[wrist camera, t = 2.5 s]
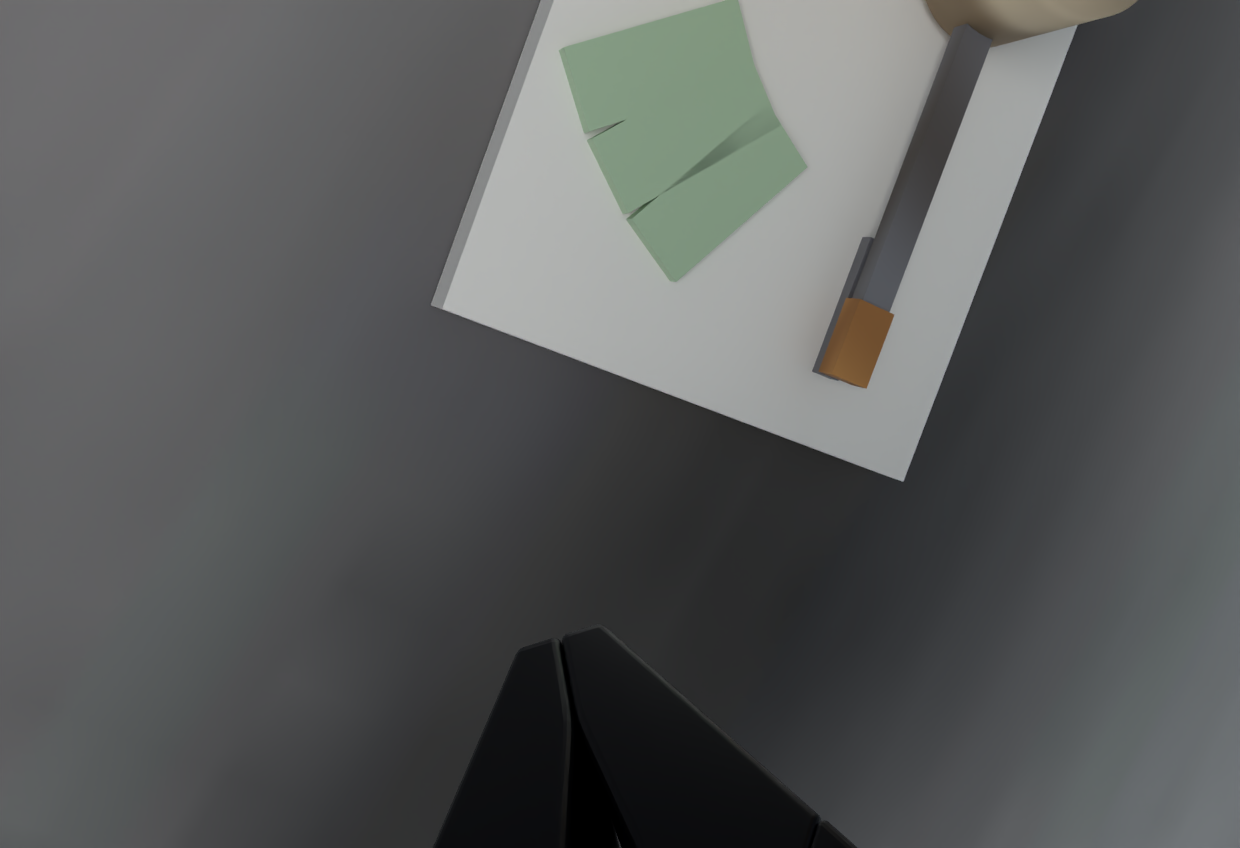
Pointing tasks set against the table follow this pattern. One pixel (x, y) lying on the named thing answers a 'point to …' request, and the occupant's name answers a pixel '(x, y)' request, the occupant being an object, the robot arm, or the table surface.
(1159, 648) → the table surface
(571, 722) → the robot arm
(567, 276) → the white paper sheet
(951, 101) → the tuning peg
